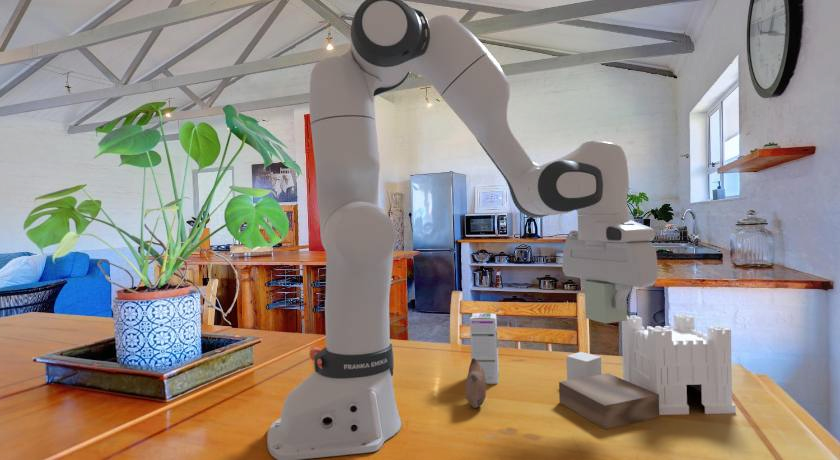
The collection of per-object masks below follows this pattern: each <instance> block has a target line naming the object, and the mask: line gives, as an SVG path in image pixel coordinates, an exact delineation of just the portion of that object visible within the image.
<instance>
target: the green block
mask: <svg viewBox="0 0 840 460" xmlns="http://www.w3.org/2000/svg"><path fill="white" fill-rule="evenodd" d="M617 292H618V290H616V289H615V283H609V282H603V281H596V280H591V281H585V290H584V309H585V311H584V312H585V319H587V320H591V321H594V322H598V323H602V324H604V325H605V324H611V323H619V322H621V323H622V321H627V316H628V308H627V305H628V304H627V303H628V301H627V299H628V297H627V298H626V299H625V304H626V307H625V308H624V309H616V308H613V307H612V300H611V298H615V297H616V294H617Z"/></svg>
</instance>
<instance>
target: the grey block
mask: <svg viewBox="0 0 840 460" xmlns="http://www.w3.org/2000/svg"><path fill="white" fill-rule="evenodd" d="M596 375H602V356H599V355H595V354H591V353H588V352H587V353H586V352H584V351H578V352H576V353H571V354H569V355H566V381H568V380H573V379H579V378H585V377H590V376H596Z"/></svg>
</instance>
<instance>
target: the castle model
mask: <svg viewBox="0 0 840 460" xmlns="http://www.w3.org/2000/svg"><path fill="white" fill-rule="evenodd" d="M706 329H707V333H704V332H702V331H698V330H696V329H695V317H694V316H692V315H690V314H685V313H684V314H683V313H682V314H676V313H675V314H673V325H672V329H671V326H670V325H663V326H661V325H655V327H653V326H651V325H650V326H647V325H646V329H645V326H643V318H642V317H639V316H638V315H636V314H634V315H627V321H621V340H622V341H621V345H622V348H621V349H622V379H623V380H625V381H628V382H630V383H633V384H635V385H637V386H640V387H642V388H644V389H647V390H649V391H652V392H654V393H656V394H659V416H661V415H662V416H663V415H664V416H665V415H669V416H670V415H690V406H689V404H688V394H687V389H688V388H687V386H690V385H691V386H690V387H692V388H693V387H694V388H693V389H695V390H697V391H699V393H701V405H702V406H704V414H706V415H709V414H711V415H713V414H716V415H717V414H721V415H722V414H737V413H736V412H737V409H736V407H737V406H736V405H735V404H734V403H733V379H732V378H733V374H732V373H733V369H732V368H733V367H732V363H733V362H732V330H731V329H730V328H727V327H725V326H720V325H715V326H713V325H712V326H707V328H706Z"/></svg>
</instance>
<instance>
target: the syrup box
mask: <svg viewBox="0 0 840 460" xmlns="http://www.w3.org/2000/svg"><path fill="white" fill-rule="evenodd" d="M497 319H498V318H497V313H494V312H476V313H475V312H473V313H472V314H471V316H470V317H469V336H470V337H469V338H470V340H469V341H470V359H471V360H470V362H471V361H472V359H473V358H474V359H476V360H477V361H478V362H479V363H480V365H481V366H482V367H483V370H484V374H485V380H486V385H488V384H489V385H490V384H491V385H498V383H499V375H500V372H499V371H500V370H499V367H500V366H499V346H498V327H497V326H498V324H497Z"/></svg>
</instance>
